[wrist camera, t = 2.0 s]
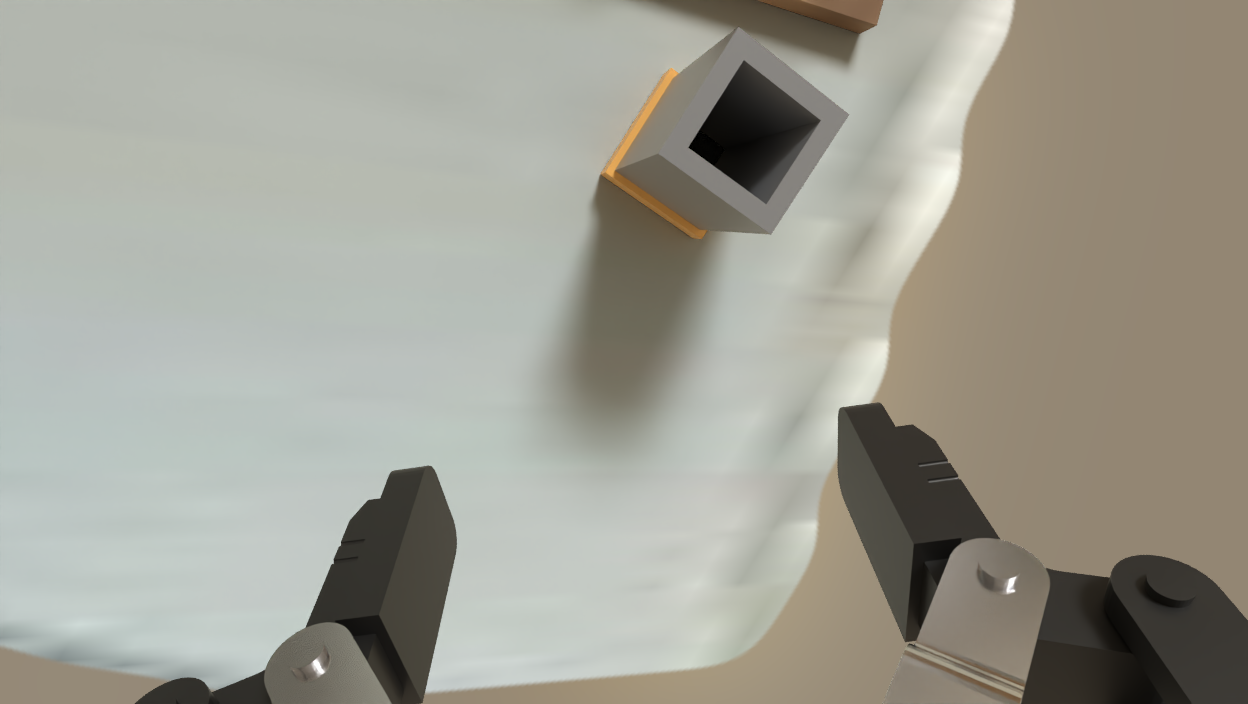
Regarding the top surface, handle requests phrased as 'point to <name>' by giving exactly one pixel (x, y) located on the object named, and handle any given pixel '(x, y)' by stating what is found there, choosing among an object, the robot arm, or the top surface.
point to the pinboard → (836, 11)
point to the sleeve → (726, 140)
